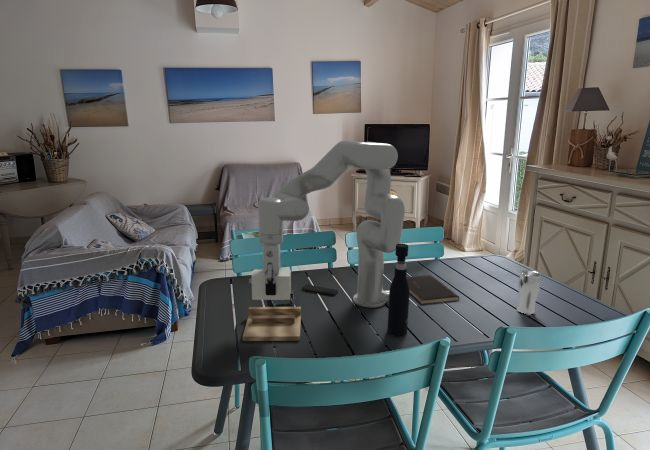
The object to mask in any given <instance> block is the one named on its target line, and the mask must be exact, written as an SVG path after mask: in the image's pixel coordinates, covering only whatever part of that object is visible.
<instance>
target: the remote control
mask: <svg viewBox="0 0 650 450" xmlns="http://www.w3.org/2000/svg"><path fill="white" fill-rule="evenodd" d="M301 289H302V290H305V291H304V292H307V291H309V292H308V293H312V292H314V293H313V294H317V293H318V294H319V295H322V296H323V295H324V296H327V297H328V296H329V297H336V296H337V295H338V294H339V290H338V289H335V288H328V287H323V286H318V285H314V284H305V285H303V286H302V287H301ZM302 290H301V291H302Z"/></svg>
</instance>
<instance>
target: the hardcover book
mask: <svg viewBox="0 0 650 450" xmlns="http://www.w3.org/2000/svg"><path fill="white" fill-rule="evenodd" d="M406 278H407V281H408V285H409V292H410V294H411V295H412V297H414V298H415V299H416V300H418V302H419V303H420V304H421V305H422V304H423V305H424V304H433V303H434V302H435V303H443V302H452V301H453V302H455V301H460V296H459V295H458V294H456V293H455V292H454V291H452V290H451V289H450V288H448V287H447V286H446V285H445V284H443V283H442V282H441V281H439V280H438V279H437V278H435V277H434V276H433V275H431V274H428V275H414V276H406ZM454 300H455V301H454ZM435 303H434V304H435Z"/></svg>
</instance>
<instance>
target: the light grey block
mask: <svg viewBox="0 0 650 450" xmlns="http://www.w3.org/2000/svg"><path fill="white" fill-rule="evenodd" d="M272 274H274V272H272ZM291 276H292V271H291V269H280V274H279V275H277V274H275V283H276V295H266V275H265V274H264V270H263V269H253V271H252V273H251V278H248V284H251V299H252V301H259V300H260V301H264V300H265V301H270V300H271V301H272V300H273V301H279V300H280V301H288V300H289V301H290V300H291V295H290V294H291V291H292V287H291V286H292V282H291V281H292V280H291V279H292V277H291ZM272 278H273V276H272Z"/></svg>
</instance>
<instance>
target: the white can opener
mask: <svg viewBox="0 0 650 450" xmlns="http://www.w3.org/2000/svg"><path fill="white" fill-rule="evenodd" d="M541 280H542V273H540V272H538V271H535V270H528V269H525V270H521V271H520V276H519V280H518V305H517V307H516V312H517V311H519V312H521V313H524V314H532V313H534V312H535V313H536V311H535V309H536V307H535V305H536V302H537V298H538V296H539V293H540V289H541Z"/></svg>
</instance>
